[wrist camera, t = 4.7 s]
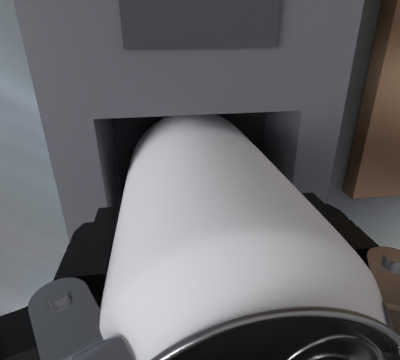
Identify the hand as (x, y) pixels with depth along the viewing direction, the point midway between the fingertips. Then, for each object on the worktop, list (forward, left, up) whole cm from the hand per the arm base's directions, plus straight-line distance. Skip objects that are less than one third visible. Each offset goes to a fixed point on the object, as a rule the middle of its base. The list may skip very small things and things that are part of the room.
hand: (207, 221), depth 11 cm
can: (0, 0, -5) cm, 5 cm away
